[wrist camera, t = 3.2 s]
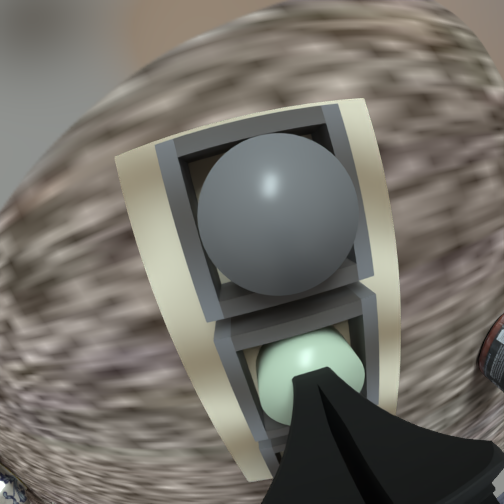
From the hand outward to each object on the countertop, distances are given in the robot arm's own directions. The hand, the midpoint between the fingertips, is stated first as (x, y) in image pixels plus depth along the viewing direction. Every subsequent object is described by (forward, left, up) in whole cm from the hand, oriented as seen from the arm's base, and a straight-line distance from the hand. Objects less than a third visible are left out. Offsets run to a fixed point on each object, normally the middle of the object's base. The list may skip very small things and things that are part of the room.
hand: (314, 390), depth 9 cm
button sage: (0, 0, -2) cm, 2 cm away
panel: (0, 0, -4) cm, 4 cm away
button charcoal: (+4, +5, -1) cm, 7 cm away
